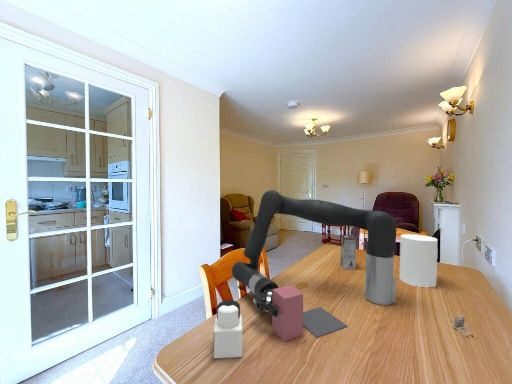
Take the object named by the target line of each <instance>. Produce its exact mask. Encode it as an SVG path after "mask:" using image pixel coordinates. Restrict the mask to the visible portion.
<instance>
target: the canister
mask: <svg viewBox="0 0 512 384" xmlns="http://www.w3.org/2000/svg"><path fill="white" fill-rule="evenodd" d="M399 246H400V247H399V280H400V281H401V282H402V281H403V282H402V283H404V282H405V283H404V284H406V283H407V284H406V285H410V286H412V287H415V286H417V287H416V288H420V287H426V288H425V289H429V288H428V287H434V286H436V287H437V273H438V272H437V270H438V269H437V268H438V238H436V237H434V236H433V237H432V236H429V235H423V234H415V233H414V234H413V233H412V234H411V233H408V234H407V233H403V234H401V235H400V245H399ZM434 288H435V287H434Z"/></svg>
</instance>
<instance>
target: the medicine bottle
mask: <svg viewBox="0 0 512 384" xmlns="http://www.w3.org/2000/svg"><path fill="white" fill-rule="evenodd" d="M213 326H214V327H213V358H214V359H228V358H229V359H231V358H233V359H234V358H242V357H243V315H242V314H241V306H240V303H239V302H238V301H237V300H234V299H233V300H232V299H226V300H223V301H220V302H219V303H218V304H217V306H216V316H215V321H214V325H213Z"/></svg>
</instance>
